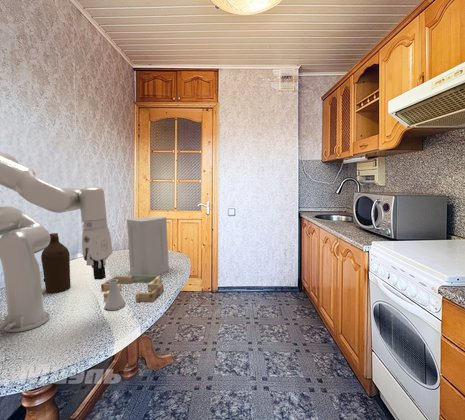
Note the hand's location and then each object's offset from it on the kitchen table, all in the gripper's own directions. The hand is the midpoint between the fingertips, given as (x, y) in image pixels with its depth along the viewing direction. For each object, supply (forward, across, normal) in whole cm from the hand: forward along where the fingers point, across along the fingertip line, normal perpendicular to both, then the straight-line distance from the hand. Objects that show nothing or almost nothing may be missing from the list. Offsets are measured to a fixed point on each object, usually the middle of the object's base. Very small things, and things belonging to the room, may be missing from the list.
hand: (100, 278), depth 97 cm
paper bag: (+14, +47, +5) cm, 50 cm away
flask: (+14, +9, +1) cm, 17 cm away
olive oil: (+13, +25, +37) cm, 46 cm away
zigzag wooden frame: (+14, +25, +2) cm, 29 cm away
